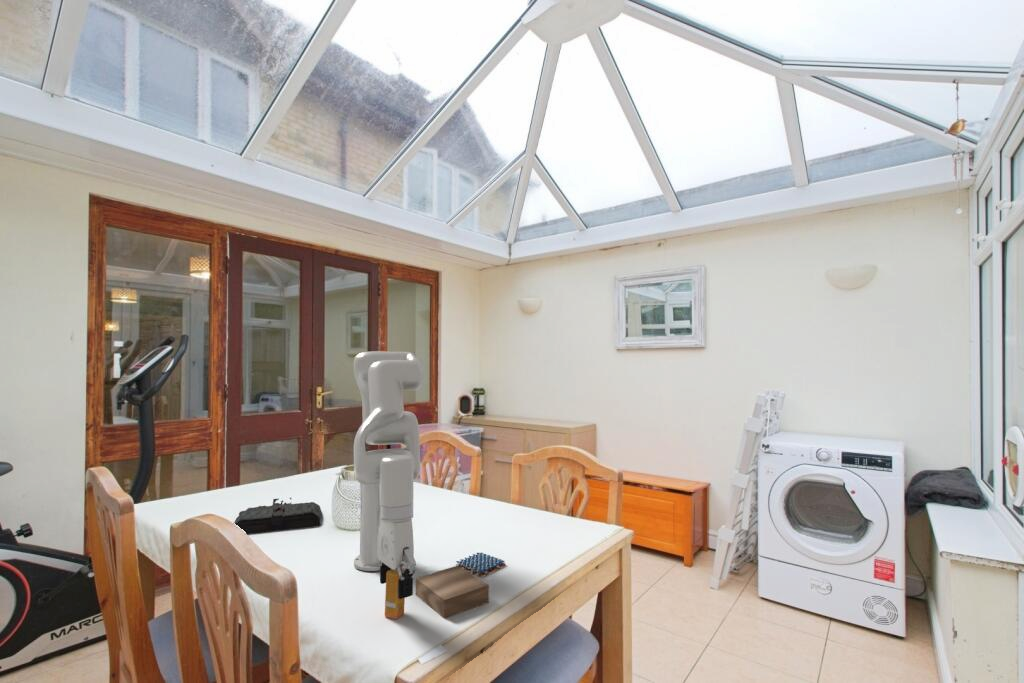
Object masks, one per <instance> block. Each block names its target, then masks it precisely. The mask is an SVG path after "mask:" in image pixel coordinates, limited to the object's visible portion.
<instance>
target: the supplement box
mask: <svg viewBox="0 0 1024 683" xmlns="http://www.w3.org/2000/svg"><path fill="white" fill-rule="evenodd" d="M406 569H407V568H402V570H403V573H404V571H405V570H406ZM398 579H400V576H399V573H398V569H397V568H396V569H394V570H393V569H391V570H389V571H387V574H386V583H385V597H384V598H385V599H384V616H385V618H389V619H393V620H397V619H399V618H400V617H401V616H402V615H403V614H405V599H406V598H403V599H399V598H398Z"/></svg>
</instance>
